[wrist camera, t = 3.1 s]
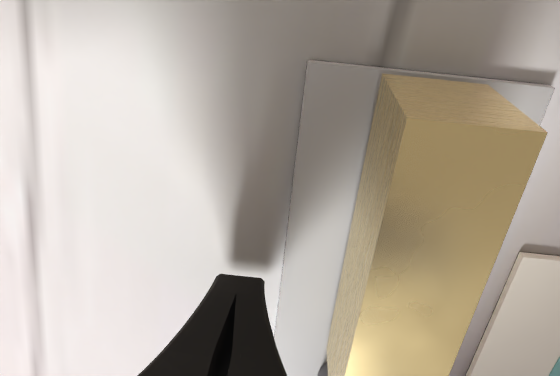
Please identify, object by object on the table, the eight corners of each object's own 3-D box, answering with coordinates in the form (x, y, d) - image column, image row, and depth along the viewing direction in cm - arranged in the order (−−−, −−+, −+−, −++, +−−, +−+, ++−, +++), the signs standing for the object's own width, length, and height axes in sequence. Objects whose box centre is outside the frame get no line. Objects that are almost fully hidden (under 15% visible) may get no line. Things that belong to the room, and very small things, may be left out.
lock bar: (401, 355, 15) (420, 443, 12) (326, 347, 15) (330, 433, 12) (487, 84, 11) (548, 132, 8) (382, 73, 11) (407, 117, 8)
